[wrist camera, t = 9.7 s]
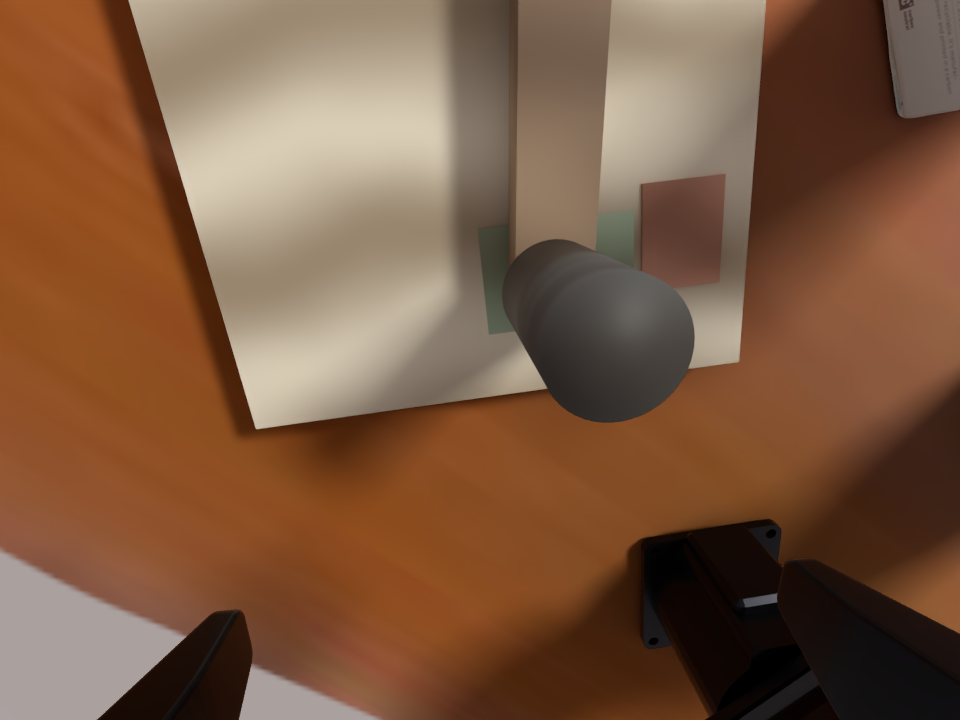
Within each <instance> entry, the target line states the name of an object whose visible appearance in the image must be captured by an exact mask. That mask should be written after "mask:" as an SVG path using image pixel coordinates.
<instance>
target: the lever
mask: <svg viewBox="0 0 960 720" xmlns="http://www.w3.org/2000/svg"><path fill="white" fill-rule="evenodd" d="M611 3H612V0H510V28H509V189H508V271H507V274H506V276H505V279H504V283H503V288H502V302H503V307H504V310H505V313H506V315H507V317H508V319H509V321H510V323H511V325H512V326H513V328H514V330H515V332H516V334H517V335H518V337H519V339H520V341H521V342H522V344H523V346H524V348H525V350H526V351H527V353H528V355H529V357H530V358H531V360H532V362H533V364H534V366H535V367H536V369H537V371H538V373H539V374H540V376H541V378H542V380H543V382H544V383H545V385H546V387H547V389H548V390H549V392H550V393H551V395H552V396H553V398H554V399H555V400H556V401H557V402H558V403H559V404H560V405H561V406H562V407H563V408H565V409H566V410H567V411H569V412H571V413H572V414H574V415H576V416H578V417H581V418H583V419H586V420H590V421H595V422H620V421H625V420H629V419H633V418H635V417H638V416H641V415H643V414H645V413H647V412H649V411H651V410H652V409H654V408H655V407H657V406H658V405H660V404H661V403H662V402H663V401H665V400H666V399H667V398H668V397H669V396H670V395H671V394H672V393H673V392H674V390H675V389H676V388H677V387H678V385H679V384H680V382H681V381H682V379H683V378H684V376H685V374H686V372H687V370H688V368H689V365H690V362H691V359H692V355H693V351H694V342H695V333H694V325H693V320H692V317H691V314H690V311H689V309H688V307H687V305H686V303H685V302H684V300H683V299H682V298H681V296H680V295H679V294H678V293H677V292H676V291H675V290H674V289H673V288H672V287H671V286H669V285H668V284H667V283H665V282H664V281H662V280H660V279H658V278H656V277H654V276H651V275H649V274H647V273H645V272H642V271H640V270H638V269H635V268H633V267H631V266H629V265H626V264H624V263H622V262H619V261H617V260H615V259H612V258H610V257H608V256H606V255H603V254H601V253H599V252H596V235H597V220H598V204H599V189H600V173H601V158H602V142H603V127H604V111H605V96H606V80H607V65H608V49H609V34H610V18H611Z"/></svg>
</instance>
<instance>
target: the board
mask: <svg viewBox="0 0 960 720" xmlns="http://www.w3.org/2000/svg"><path fill="white" fill-rule="evenodd" d="M129 4H130V7H131V11H132V14H133V17H134V21H135V24H136V27H137V31H138V34H139V37H140V41H141V44H142V48H143V51H144V54H145V58H146V61H147V64H148V68H149V71H150V74H151V78H152V81H153V85H154V88H155V91H156V95H157V98H158V101H159V105H160V108H161V111H162V115H163V118H164V122H165V125H166V128H167V132H168V135H169V138H170V142H171V145H172V148H173V152H174V155H175V159H176V162H177V165H178V169H179V172H180V175H181V179H182V182H183V185H184V189H185V192H186V196H187V199H188V202H189V206H190V209H191V212H192V216H193V219H194V222H195V226H196V229H197V233H198V236H199V239H200V243H201V246H202V249H203V253H204V256H205V259H206V263H207V266H208V270H209V273H210V276H211V280H212V283H213V286H214V290H215V293H216V296H217V300H218V303H219V306H220V310H221V313H222V317H223V320H224V323H225V327H226V330H227V333H228V337H229V340H230V343H231V347H232V350H233V354H234V357H235V360H236V364H237V367H238V370H239V374H240V377H241V380H242V384H243V387H244V391H245V394H246V397H247V401H248V404H249V407H250V411H251V414H252V417H253V421H254V424H255V428H256V429H261V428H269V427H276V426H283V425H290V424H297V423H304V422H312V421H319V420H326V419H333V418H340V417H347V416H355V415H362V414H369V413H376V412H383V411H390V410H398V409H405V408H412V407H419V406H426V405H433V404H440V403H448V402H455V401H462V400H469V399H476V398H483V397H491V396H498V395H505V394H512V393H519V392H526V391H534V390H541V389H547V387H546V385H545V383H544V382H543V380H542V378H541V376H540V374H539V373H538V371H537V369H536V367H535V366H534V364H533V362H532V360H531V358H530V357H529V355H528V353H527V351H526V350H525V348H524V346H523V344H522V342H521V341H520V339H519V337H518V335H517V334H516V332H515V330H514V328H513V326H512V325H511V323H510V321H509V319H508V317H507V315H506V313H505V310H504V307H503V302H502V288H503V283H504V279H505V276H506V274H507V271H508V189H509V28H510V0H129ZM765 9H766V0H612V3H611V18H610V34H609V49H608V65H607V80H606V96H605V111H604V127H603V142H602V158H601V173H600V189H599V204H598V220H597V235H596V252H599V253H601V254H603V255H606V256H608V257H610V258H612V259H615V260H617V261H619V262H622V263H624V264H626V265H629V266H631V267H633V268H635V269H638V270H640V271H642V272H645V273H647V274H649V275H651V276H654V277H656V278H658V279H660V280H662V281H664V282H665V283H667V284H668V285H669V286H671V287H672V288H673V289H674V290H675V291H676V292H677V293H678V294H679V295H680V296H681V298H682V299H683V300H684V302H685V303H686V305H687V307H688V309H689V311H690V314H691V317H692V320H693V325H694V333H695V342H694V351H693V355H692V359H691V362H690V365H689V368H688V369H691V368H698V367H706V366H713V365H720V364H727V363H734V362H739V353H740V340H741V327H742V314H743V301H744V287H745V274H746V261H747V248H748V234H749V221H750V208H751V195H752V181H753V168H754V155H755V142H756V128H757V115H758V102H759V89H760V75H761V62H762V49H763V36H764V22H765Z"/></svg>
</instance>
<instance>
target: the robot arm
mask: <svg viewBox="0 0 960 720" xmlns="http://www.w3.org/2000/svg"><path fill="white" fill-rule="evenodd" d="M767 531H768V532H767ZM780 539H781V528H780V527H779V526H778V525H777V524H776V523H775V522H774V521H773V520H769V519H766V520H760V521H754V522H747V523H741V524H734V525H728V526H722V527H715V528H709V529H703V530H696V531H690V532H683V533H677V534H671V535H664V536H658V537H651V538H648V539H646V540H645V541H644V542H643V543H642V545H641V639H642V641H643V644H644V646H645V647H646V648H649V649H655V648H661V647H667V646H672V647H673V649H674V650H675V652H676V654H677V656H678V658H679V660H680V662H681V664H682V666H683V668H684V670H685V672H686V674H687V675H688V677H689V679H690V681H691V683H692V685H693V687H694V689H695V691H696V693H697V695H698V697H699V699H700V701H701V702H702V704H703V706H704V708H705V710H706V712H707V714H708V716H709V717H708V718H707V719H706V720H960V634H959V633H957V632H955V631H953V630H951V629H949V628H947V627H945V626H944V625H942V624H940V623H938V622H936V621H934V620H932V619H930V618H928V617H926V616H924V615H922V614H920V613H918V612H916V611H914V610H913V609H911V608H909V607H907V606H905V605H903V604H901V603H899V602H897V601H895V600H893V599H891V598H889V597H887V596H885V595H883V594H882V593H880V592H878V591H876V590H874V589H872V588H870V587H868V586H866V585H864V584H862V583H860V582H858V581H856V580H854V579H852V578H851V577H849V576H847V575H845V574H843V573H841V572H839V571H837V570H835V569H833V568H831V567H829V566H827V565H825V564H823V563H821V562H820V561H818V560H815V559H813V558H799V559H790V560H788V561H787V562H786V563H785V564H784V567H782V566H781V565H780V564H779V563H778V556H779V548H780ZM653 548H655V549H654V550H652V551H650V550H651V549H653ZM251 663H252V645H251V641H250V637H249V632H248V628H247V624H246V620H245V616H244V614H243V612H242V611H241V610H227V611H217V612H214V613H212V614H211V615H210V616H208V617H207V618H206V619H205V620H204V621H203V622H202V623H201V624H200V625H199V626H198V627H196V628H195V629H194V630H193V631H192V632H191V633H190V634H189V635H188V636H187V637H186V638H185V639H184V640H182V641H181V642H180V643H179V644H178V645H177V646H176V647H175V648H174V649H173V650H172V651H171V652H170V653H168V655H166V656H165V657H164V658H163V659H162V660H161V661H160V662H159V663H158V664H157V665H156V666H154V667H153V668H152V669H151V670H150V671H149V672H148V673H147V674H146V675H145V676H144V677H143V678H142V679H140V680H139V681H138V682H137V683H136V684H135V685H134V686H133V687H132V688H131V689H130V690H129V691H128V692H127V693H126V694H124V695H123V696H122V697H121V698H120V699H119V700H118V701H117V702H116V703H115V704H114V705H113V706H111V707H110V708H109V709H108V710H107V711H106V712H105V713H104V714H103V715H102V716H101V717H100V718H98V719H97V720H239V716H240V712H241V707H242V703H243V699H244V694H245V690H246V686H247V681H248V677H249V672H250V668H251Z"/></svg>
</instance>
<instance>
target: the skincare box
mask: <svg viewBox="0 0 960 720" xmlns="http://www.w3.org/2000/svg"><path fill="white" fill-rule="evenodd" d="M883 4H884V11H885V19H886V27H887V35H888V46H889V59H890V65H891V72H892V80H893V84H894V93H895V99H896V107H897V111H898V114H899V115H900V116H901V117H903V118H916V117H922V116H928V115H934V114H939V113H945V112H951V111H957V110H960V0H883Z"/></svg>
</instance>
